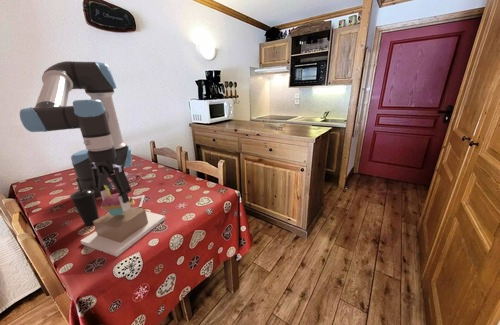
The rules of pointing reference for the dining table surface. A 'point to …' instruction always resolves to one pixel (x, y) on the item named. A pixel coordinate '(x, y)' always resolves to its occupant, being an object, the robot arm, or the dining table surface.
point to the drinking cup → (85, 204)
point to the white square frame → (136, 198)
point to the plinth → (125, 243)
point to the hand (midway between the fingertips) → (117, 207)
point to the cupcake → (112, 203)
